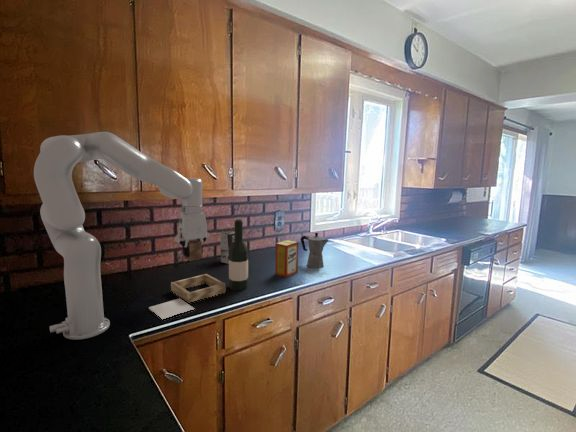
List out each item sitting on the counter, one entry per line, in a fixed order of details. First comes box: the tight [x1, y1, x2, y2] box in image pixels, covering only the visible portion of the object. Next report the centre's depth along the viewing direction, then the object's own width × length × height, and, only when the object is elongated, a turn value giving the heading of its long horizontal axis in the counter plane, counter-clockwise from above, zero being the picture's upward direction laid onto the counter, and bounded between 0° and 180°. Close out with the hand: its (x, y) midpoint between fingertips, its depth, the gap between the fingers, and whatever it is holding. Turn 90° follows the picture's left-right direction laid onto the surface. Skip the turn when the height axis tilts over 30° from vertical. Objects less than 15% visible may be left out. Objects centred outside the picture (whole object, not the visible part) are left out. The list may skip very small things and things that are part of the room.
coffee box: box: [220, 230, 235, 265], centre depth 174 cm, size 9×6×16 cm
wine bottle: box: [228, 218, 249, 291], centre depth 137 cm, size 8×8×30 cm
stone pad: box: [148, 297, 196, 321], centre depth 117 cm, size 12×12×1 cm
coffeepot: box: [300, 232, 329, 269], centre depth 171 cm, size 15×9×18 cm, turn 67°
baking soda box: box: [274, 239, 299, 278], centre depth 157 cm, size 10×6×16 cm
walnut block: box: [183, 239, 203, 262], centre depth 127 cm, size 5×5×7 cm
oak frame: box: [170, 273, 226, 304], centre depth 133 cm, size 16×15×4 cm
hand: (192, 254), depth 127 cm, fingers closed on walnut block, 5 cm apart
